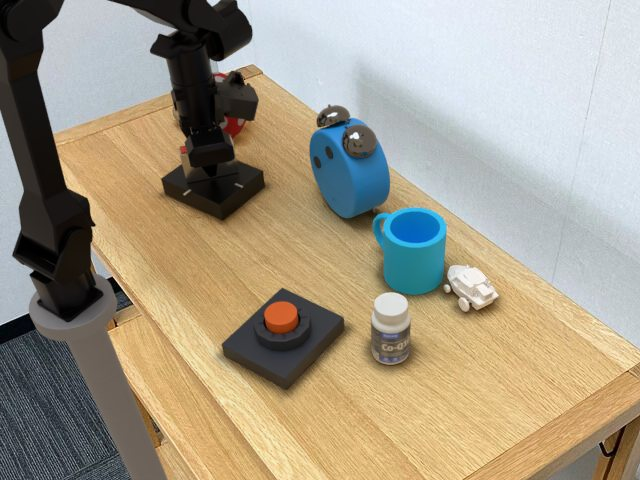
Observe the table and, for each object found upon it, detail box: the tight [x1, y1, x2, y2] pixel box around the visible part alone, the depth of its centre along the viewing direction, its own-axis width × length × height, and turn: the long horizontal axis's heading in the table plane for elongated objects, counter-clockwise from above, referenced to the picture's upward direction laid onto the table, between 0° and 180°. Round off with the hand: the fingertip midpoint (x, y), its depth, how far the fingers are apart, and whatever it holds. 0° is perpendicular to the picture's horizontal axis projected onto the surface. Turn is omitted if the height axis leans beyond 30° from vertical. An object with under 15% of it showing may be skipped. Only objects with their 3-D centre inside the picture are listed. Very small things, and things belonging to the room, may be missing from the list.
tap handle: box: [177, 137, 239, 183], centre depth 113 cm, size 8×2×5 cm, turn 107°
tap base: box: [160, 153, 266, 221], centre depth 116 cm, size 12×12×3 cm
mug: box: [371, 206, 448, 296], centre depth 101 cm, size 12×8×8 cm
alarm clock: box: [308, 103, 391, 219], centre depth 108 cm, size 13×6×15 cm, turn 32°
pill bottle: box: [370, 291, 412, 366], centre depth 91 cm, size 5×5×8 cm
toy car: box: [443, 264, 500, 313], centre depth 98 cm, size 5×8×4 cm, turn 31°
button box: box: [221, 287, 346, 391], centre depth 94 cm, size 12×10×4 cm
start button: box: [264, 301, 298, 334], centre depth 92 cm, size 4×4×2 cm
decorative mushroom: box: [172, 71, 247, 140], centre depth 126 cm, size 11×11×15 cm
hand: (211, 171), depth 115 cm, fingers closed on tap handle, 2 cm apart
